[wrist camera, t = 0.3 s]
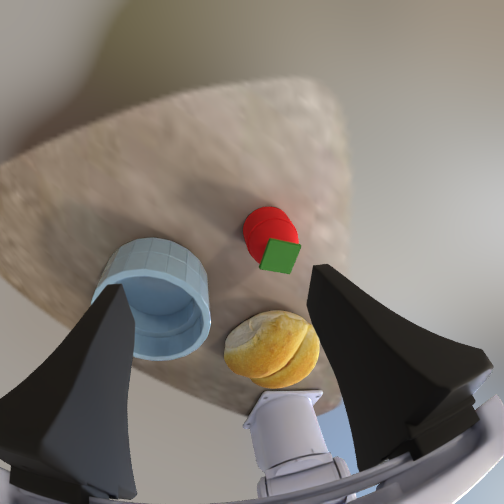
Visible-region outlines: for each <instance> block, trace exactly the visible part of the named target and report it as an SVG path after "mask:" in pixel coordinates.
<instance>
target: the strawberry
mask: <svg viewBox="0 0 504 504" xmlns="http://www.w3.org/2000/svg"><path fill="white" fill-rule="evenodd" d="M243 235H244V238H245V242H246V245H247V248H248V251H249V253H250V255H251V256H252V257H253V258H254V259H255V260H256V261H257V262H258V263H259V264H260V265H259V268H260V269H262V270H268V271H274V272H280V273H286V274H290V273H291V271H292V268H293V266H294V263H295V261H296V258H297V256H298V254H299V251H300V249H301V245H300V244H299V241H298V234H297V231H296V228H295V227H294V225H293V224H292V222H291V221H290V219H289V218H288V217H287V215H286V214H285V213H284V212H283V211H282V210H280V209H278V208H275V207H262V208H259V209H257V210H255V211H253V212H252V213H251V214H250V215H249V216H248V217H247V219H246V221H245V223H244V226H243Z"/></svg>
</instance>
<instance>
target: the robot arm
mask: <svg viewBox="0 0 504 504" xmlns="http://www.w3.org/2000/svg"><path fill="white" fill-rule="evenodd" d="M307 308H308V312H309V315H310V318H311V321H312V324H313V327H314V330H315V332H316V334H317V336H318V338H319V341H320V343H321V345H322V347H323V349H324V351H325V354H326V356H327V358H328V360H329V362H330V364H331V367H332V369H333V371H334V374H335V376H336V379H337V381H338V385H339V388H340V391H341V394H342V397H343V401H344V405H345V408H346V412H347V416H348V419H349V424H350V428H351V432H352V437H353V441H354V447H355V453H356V460H357V467H358V469H359V473H356V474H353V475H351V474H350V471H349V469H348V466H347V464H346V462H345V461H344V459H342V458H339V457H338V456H337V457H334V458H332V455H331V453H330V452H328V450H327V447H326V444H325V441H324V438H323V435H322V432H321V429H320V427H319V424H318V421H317V418H316V415H315V412H314V409H313V405H314V404H315V403H316V401H317V400H318V399H319V398H320V397H321V395H322V394H323V392H322V390H310V391H265V392H263V393H262V395H261V397H260V398H259V400H258V402H257V403H256V405H255V407H254V408H253V410H252V412H251V413H250V415H249V416H248V418H247V420H246V421H245V423H244V424H243V428H245V429H250V431H251V437H252V442H253V447H254V452H255V457H256V462H257V464H258V467H259V468H260V469H261V470H262V471H263V472H264V473H265V475H266V476H265V477H262V478H261V479H260V481H259V482H258V484H257V493H258V499H251V500H244V501H235V502H226V503H212V504H454V503H455V502H457V501H458V500H459V499H460V498H461V497H462V496H464V495H465V494H466V493H467V492H468V491H469V490H470V489H471V488H473V487H474V486H475V485H476V484H477V483H478V482H479V481H480V480H481V479H482V478H483V477H484V476H485V475H486V474H487V473H488V472H489V471H490V470H491V469H492V468H493V467H494V466H495V465H496V464H497V463H498V462H499V460H501V459H502V458H503V457H504V405H503V403H502V401H501V400H500V398H499V397H498V395H494V396H493V397H492V398H490V399H489V400H488V401H487V402H485V403H484V404H482V405H481V406H480V407H478V408H477V409H476V410H474V408H473V406H472V405H473V404H474V403H475V399H474V397H473V396H472V395H473V393H475V391H476V390H477V389H478V388H479V387H480V386H481V385H482V384H483V383H484V382H485V381H486V379H487V378H488V377H489V375H490V374H491V373H492V371H493V365H492V363H491V362H490V360H489V359H488V357H487V356H486V354H485V353H484V351H483V350H482V349H479V348H475V347H471V346H468V345H464V344H461V343H458V342H455V341H452V340H450V339H447V338H444V337H442V336H439V335H437V334H435V333H432V332H430V331H428V330H426V329H424V328H422V327H419V326H417V325H416V324H414V323H412V322H410V321H408V320H407V319H405V318H403V317H401V316H400V315H398V314H396V313H395V312H393V311H391V310H390V309H388V308H387V307H385V306H384V305H382V304H381V303H379V302H378V301H377V300H375V299H374V298H372V297H371V296H370V295H368V294H367V293H365V292H364V291H363V290H361V289H360V288H359V287H358V286H356V285H355V284H354V283H352V282H351V281H350V280H348V279H347V278H346V277H345V276H343V275H342V274H341V273H339V272H338V271H337V270H335V269H334V268H333V267H331V266H330V265H328V264H322V265H313V269H312V275H311V281H310V287H309V293H308V299H307ZM134 344H135V320H134V317H133V314H132V312H131V309H130V306H129V303H128V300H127V297H126V294H125V291H124V288H123V285H122V283H121V284H108V285H107V286H106V287H105V288H104V289H103V290H102V292H101V293H100V294H99V296H98V297H97V298H96V300H95V301H94V302H93V303H92V305H91V306H90V307H89V309H88V310H87V311H86V313H85V314H84V315H83V317H82V318H81V319H80V321H79V322H78V323H77V324H76V326H75V327H74V328H73V329H72V330H71V332H70V333H69V334H68V335H67V337H66V338H65V339H64V340H63V342H62V343H61V344H60V345H59V346H58V347H57V348H56V350H55V351H54V352H53V353H52V354H51V355H50V356H49V357H48V358H47V359H46V360H45V361H44V362H43V363H42V364H41V365H40V366H39V367H38V368H37V369H36V370H35V371H34V372H33V373H31V374H30V375H29V376H28V377H27V378H26V379H25V380H24V381H23V382H21V383H20V384H19V385H18V386H17V387H15V388H14V389H13V390H11V391H10V392H9V393H8V394H6V395H5V396H3V397H2V398H1V399H0V459H1V460H3V461H4V462H6V463H8V464H9V465H11V471H8V470H5V469H3V468H1V467H0V504H145V503H133V502H123V501H114V500H109V498H110V499H118V498H119V499H128V500H131V499H133V498H134V497H135V496H136V495H137V491H136V486H135V481H134V476H133V471H132V464H131V458H130V449H129V437H128V419H127V399H128V389H129V381H130V373H131V366H132V359H133V352H134ZM379 483H380V484H379ZM377 484H379V485H378V486H377V488H376V491H375V492H372V493H370V494H368V495H365V496H362V497H360V498H356V493H357V492H359V491H362V490H365V489H367V488H370V487H372V486H375V485H377Z"/></svg>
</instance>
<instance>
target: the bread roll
mask: <svg viewBox="0 0 504 504" xmlns="http://www.w3.org/2000/svg"><path fill="white" fill-rule="evenodd" d="M318 355H319V338H318V336H317V334H316V332H315V330H314V327H313V325H311V324H309V323H307V322H306V321H305V320H304V319H303V318H302V317H301V316H298V315H296V314H294V313H291V312H287V311H281V310H272V311H268V312H262V313H259V314H258V315H255V316H254V317H252V318H251V319H249V320H246V321H244V322H243V323H242V324H240V325H239V326H238V327H237V328H235V329H234V330H233V331H232V332H231V333H230V334H229V335H228V337H227V339H226V341H225V351H224V359H225V362H226V364H227V365H228V367H229V368H230V369H231V370H232V371H233V372H234V373H236V374H238V375H242V376H245V377H249V378H250V379H251V380H252V382H254V383H255V384H257V385H259V386H262V387H264V388H270V389H278V388H283V387H287V386H291V385H293V384H295V383H297V382H299V381H301V380H302V379H303V378H305V377H306V376H307V375H308V374H309V373H310V372H311V371H312V369H313V368H314V366H315V364H316V362H317V359H318Z"/></svg>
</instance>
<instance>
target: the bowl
mask: <svg viewBox="0 0 504 504" xmlns="http://www.w3.org/2000/svg"><path fill="white" fill-rule="evenodd" d="M121 283H122V285H123V288H124V291H125V294H126V297H127V300H128V303H129V306H130V309H131V312H132V314H133V317H134V320H135V344H134V352H133V357H136V358H140V359H146V360H152V361H164V360H173V359H177V358H180V357H183V356H186V355H188V354H190V353H191V352H193V351H194V350H196V349H198V348H199V347H200V345H201V344H202V343H203V342H204V340H205V339H206V338H207V336H208V333H209V330H210V326H211V313H210V299H209V286H208V278H207V273H206V271H205V269H204V268H203V266H202V264H201V262H200V261H199V259H198V258H197V257H196V256H194V255H193V254H192V253H191V252H190V251H189V250H188V249H187V248H185V247H183V246H181V245H179V244H177V243H175V242H173V241H171V240H166V239H160V238H155V237H154V238H153V237H152V238H143V239H136V240H133V241H131V242H129V243H127V244H125V245H123V246H121V247H120V248H119V249H118V250H117V251H116V252H115V253H114V254H113V255H112V256H111V257H110V259H109V261H108V263H107V265H106V267H105V270H104V272H103V274H102V276H101V278H100V281H99V283H98V285H97V287H96V290H95V292H94V295H93V298H92V301H91V305H92V303H93V302H94V301H95V300H96V298H97V297H98V296H99V294H100V293H101V292H102V290H103V289H104V288H105V287H106V286H107V285H108V284H121Z"/></svg>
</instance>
